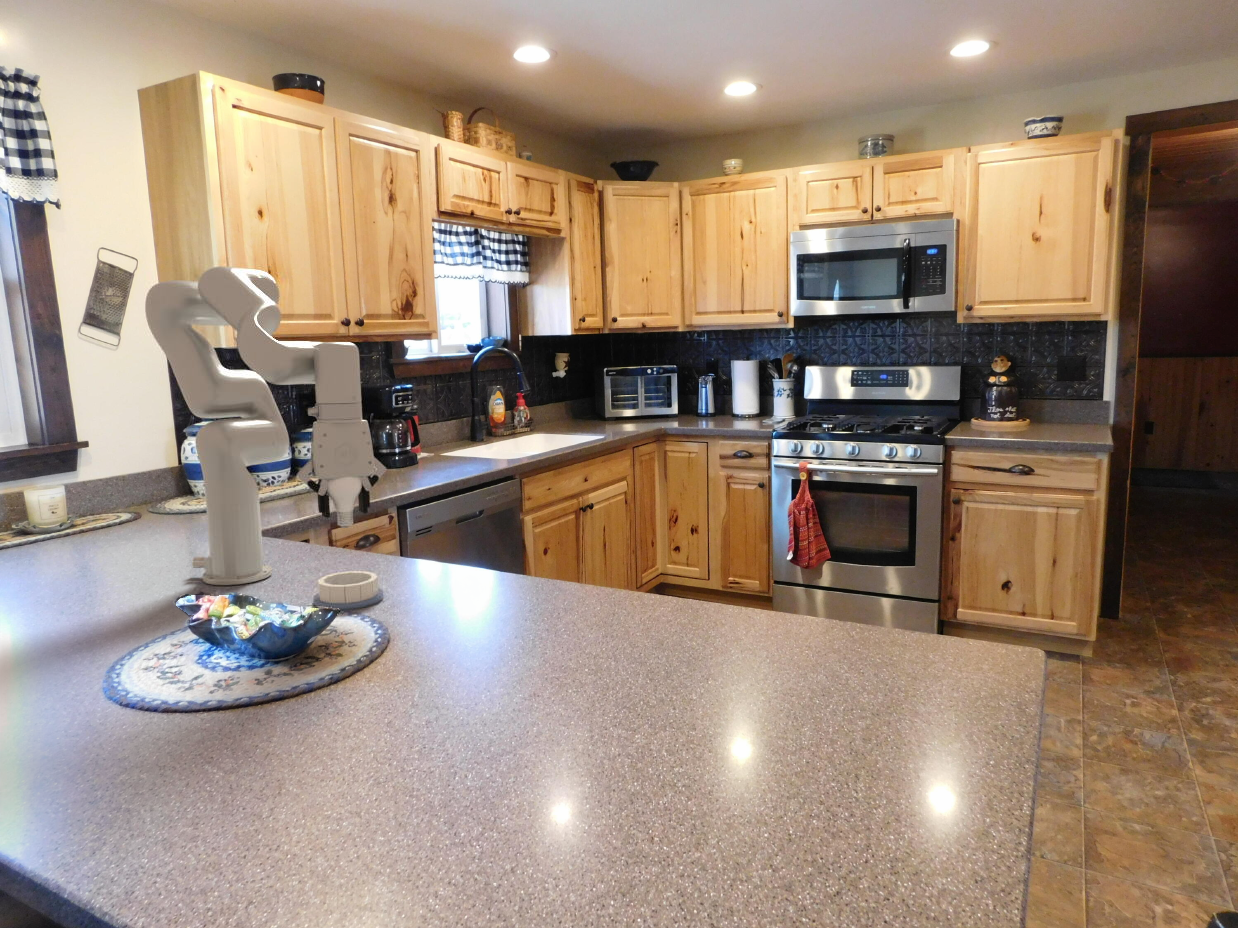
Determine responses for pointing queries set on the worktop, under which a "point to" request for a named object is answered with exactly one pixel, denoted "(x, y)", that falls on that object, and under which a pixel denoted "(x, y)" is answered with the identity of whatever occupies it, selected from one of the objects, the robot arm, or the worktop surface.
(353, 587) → the holder
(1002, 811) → the worktop surface
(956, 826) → the worktop surface
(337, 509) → the lightbulb
